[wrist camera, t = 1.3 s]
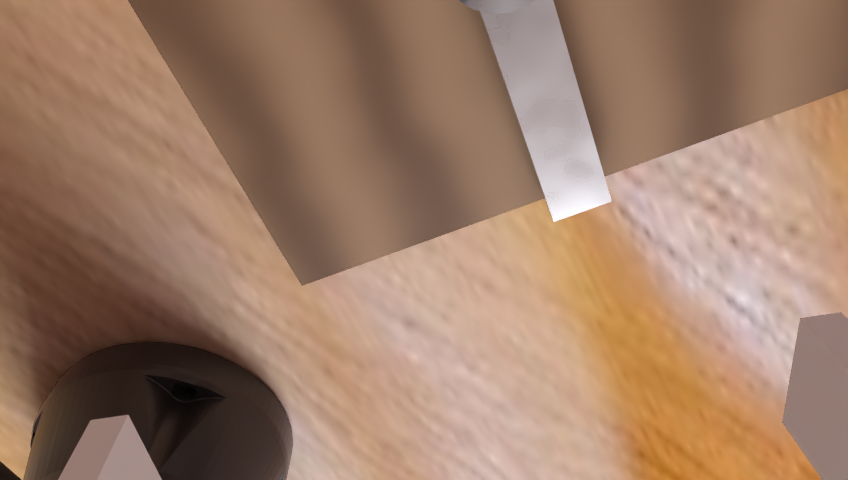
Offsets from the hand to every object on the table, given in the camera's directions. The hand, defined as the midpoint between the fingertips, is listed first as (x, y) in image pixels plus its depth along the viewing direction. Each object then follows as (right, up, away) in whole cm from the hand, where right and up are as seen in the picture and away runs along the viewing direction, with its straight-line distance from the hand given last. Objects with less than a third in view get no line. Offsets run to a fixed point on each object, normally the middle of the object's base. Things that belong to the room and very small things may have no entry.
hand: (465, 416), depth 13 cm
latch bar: (+3, +11, +14) cm, 18 cm away
